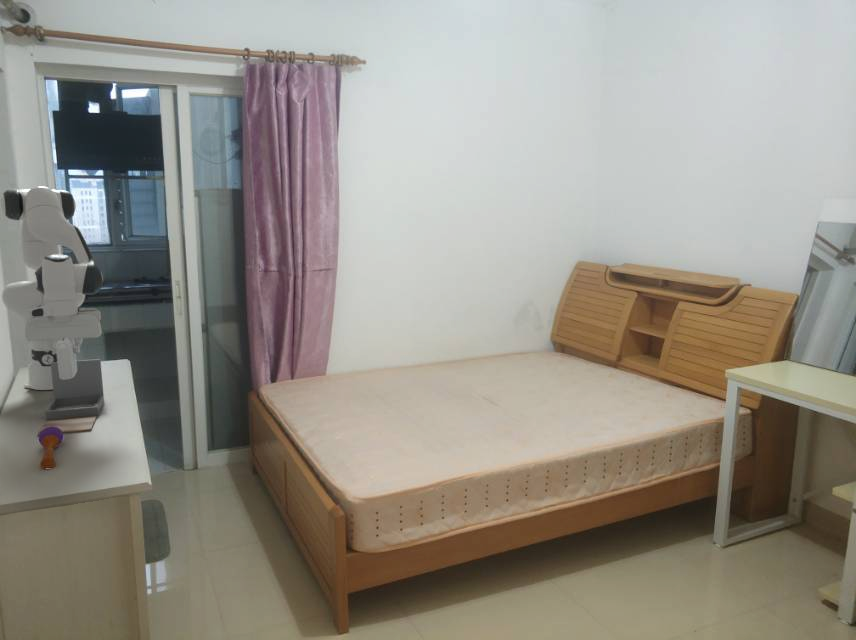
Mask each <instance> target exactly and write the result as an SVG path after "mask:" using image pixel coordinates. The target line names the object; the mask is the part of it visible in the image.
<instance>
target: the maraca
mask: <svg viewBox="0 0 856 640" xmlns="http://www.w3.org/2000/svg"><path fill="white" fill-rule="evenodd" d="M63 440H64V434H63V432H62V431H61V429H59V428H57V427H53V426H52V427H47V428H45V429H43V430H42V431H41V432H40V434H39V436H38V443H39V444H40V446H42V448H45V452H44V454H43V456H42V459H41V461H40V462H39V466H40V468H41V469H43V470H44V469H45V470H47V469H46V468H52V469H53V468H55V465H56V460H55V453H54V450H53V449H56V448H57V447H58V446H60V445H61V444H62V443H63Z"/></svg>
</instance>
